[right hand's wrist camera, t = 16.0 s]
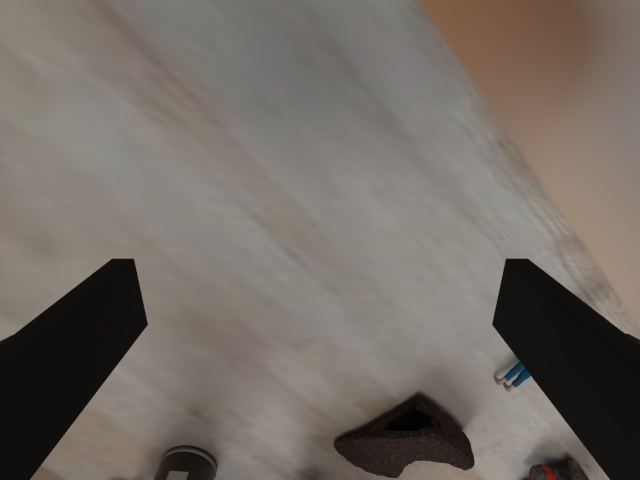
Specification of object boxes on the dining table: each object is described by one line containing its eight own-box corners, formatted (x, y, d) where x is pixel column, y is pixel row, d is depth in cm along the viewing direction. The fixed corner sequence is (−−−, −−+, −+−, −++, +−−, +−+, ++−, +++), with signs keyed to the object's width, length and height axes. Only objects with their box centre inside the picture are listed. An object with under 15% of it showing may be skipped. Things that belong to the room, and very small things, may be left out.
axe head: (394, 504, 61) (328, 488, 54) (384, 453, 67) (324, 433, 60) (487, 465, 52) (423, 441, 46) (466, 411, 59) (407, 384, 52)
